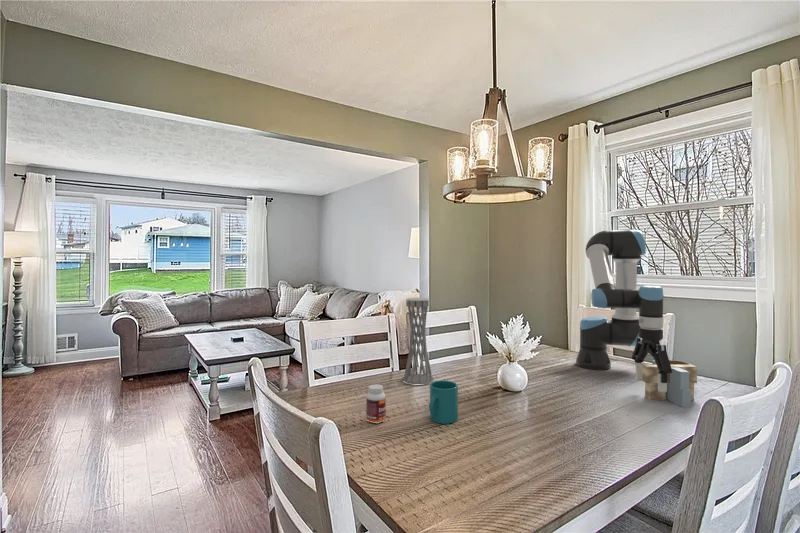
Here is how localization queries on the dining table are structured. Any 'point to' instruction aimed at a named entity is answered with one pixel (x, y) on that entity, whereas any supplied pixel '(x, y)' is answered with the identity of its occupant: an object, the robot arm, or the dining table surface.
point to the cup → (443, 402)
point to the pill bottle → (376, 404)
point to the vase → (418, 343)
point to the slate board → (678, 387)
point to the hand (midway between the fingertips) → (650, 385)
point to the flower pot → (678, 362)
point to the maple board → (652, 380)
